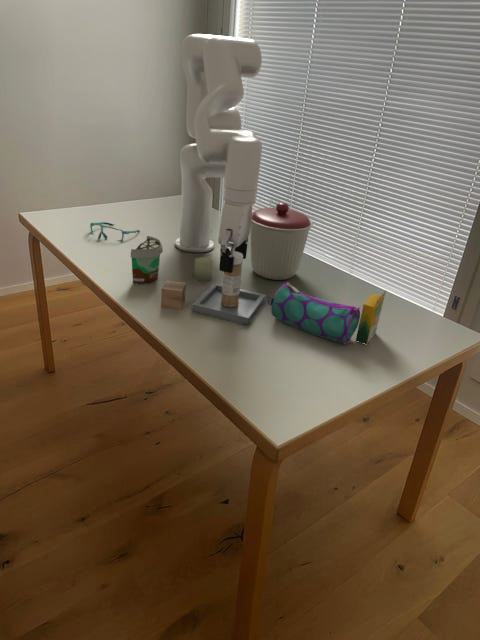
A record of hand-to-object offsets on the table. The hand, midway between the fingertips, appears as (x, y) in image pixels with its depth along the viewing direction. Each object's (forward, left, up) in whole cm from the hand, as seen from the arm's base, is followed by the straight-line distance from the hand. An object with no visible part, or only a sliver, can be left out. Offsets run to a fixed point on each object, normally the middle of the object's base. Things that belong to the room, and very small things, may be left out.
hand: (232, 264), depth 121 cm
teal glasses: (-31, -52, -12) cm, 61 cm away
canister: (-27, +4, -11) cm, 29 cm away
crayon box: (-1, +34, -11) cm, 36 cm away
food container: (-5, -25, -12) cm, 28 cm away
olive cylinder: (-13, -13, -11) cm, 21 cm away
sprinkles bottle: (0, 0, -11) cm, 11 cm away
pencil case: (+2, +22, -12) cm, 25 cm away
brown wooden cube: (+6, -13, -11) cm, 18 cm away
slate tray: (0, 0, -11) cm, 11 cm away
